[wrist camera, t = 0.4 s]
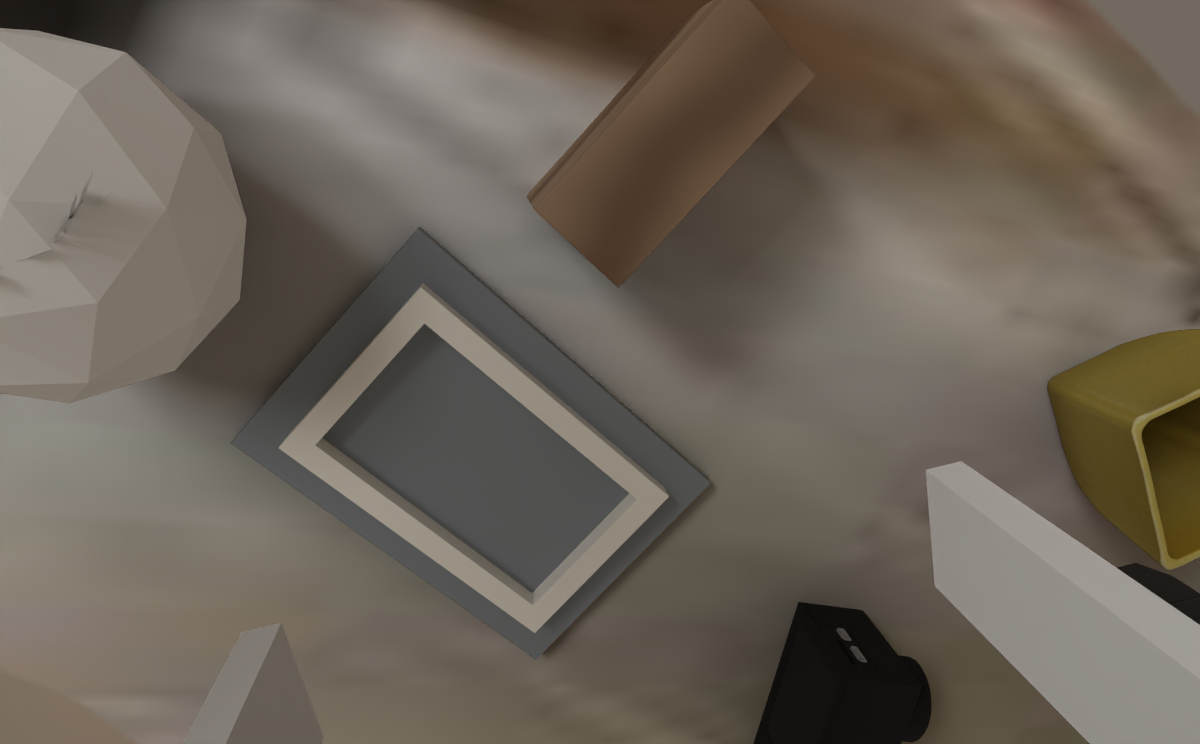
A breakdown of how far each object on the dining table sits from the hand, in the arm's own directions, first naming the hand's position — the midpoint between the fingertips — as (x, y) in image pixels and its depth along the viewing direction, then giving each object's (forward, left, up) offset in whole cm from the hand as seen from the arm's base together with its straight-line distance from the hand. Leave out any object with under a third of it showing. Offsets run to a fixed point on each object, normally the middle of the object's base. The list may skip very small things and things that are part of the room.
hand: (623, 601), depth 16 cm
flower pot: (+26, +17, -25) cm, 40 cm away
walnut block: (-3, +9, -25) cm, 27 cm away
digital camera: (+27, -6, -25) cm, 38 cm away
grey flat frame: (+2, -8, -25) cm, 26 cm away
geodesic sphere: (-18, -9, -25) cm, 32 cm away
